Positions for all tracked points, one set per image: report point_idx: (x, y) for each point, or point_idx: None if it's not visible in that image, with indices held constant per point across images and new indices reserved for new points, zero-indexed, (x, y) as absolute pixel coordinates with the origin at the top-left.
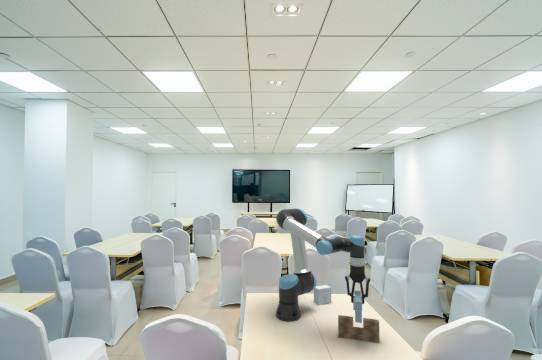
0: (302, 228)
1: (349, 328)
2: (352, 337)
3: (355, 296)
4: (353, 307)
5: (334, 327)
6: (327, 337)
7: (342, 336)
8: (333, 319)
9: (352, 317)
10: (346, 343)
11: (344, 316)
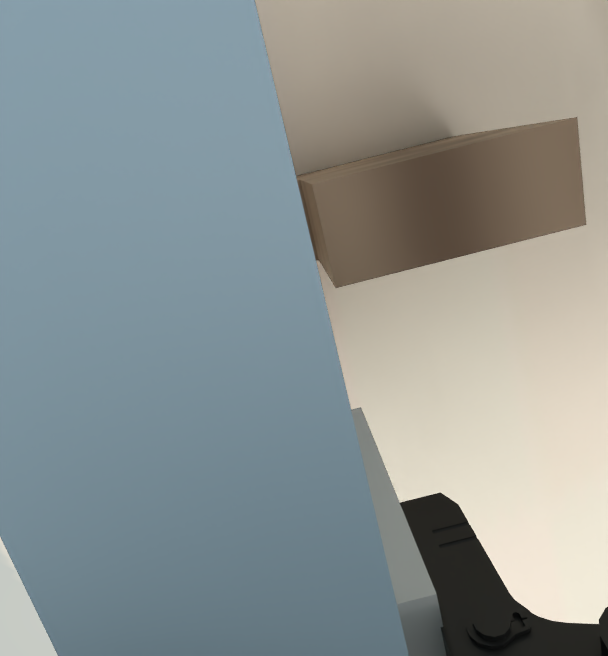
0: None
1: (350, 167)
2: (303, 175)
3: (289, 309)
4: (368, 430)
5: (530, 333)
6: (565, 65)
7: (412, 147)
8: (568, 492)
9: (338, 254)
10: (341, 38)
11: (475, 220)
